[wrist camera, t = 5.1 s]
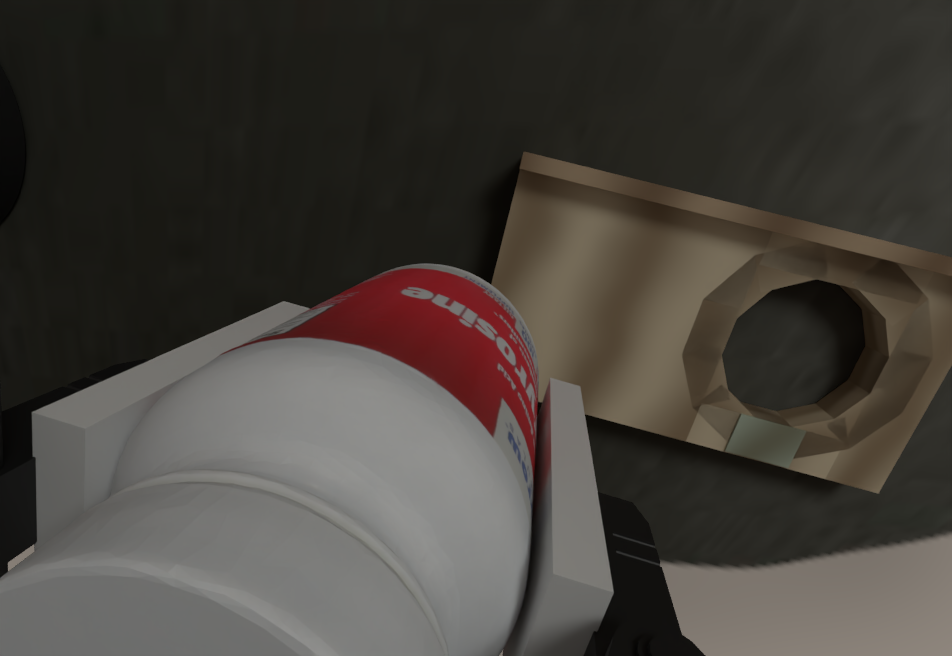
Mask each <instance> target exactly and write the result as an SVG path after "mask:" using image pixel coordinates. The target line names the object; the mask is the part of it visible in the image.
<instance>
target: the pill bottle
mask: <svg viewBox="0 0 952 656" xmlns="http://www.w3.org/2000/svg"><path fill="white" fill-rule="evenodd" d="M538 389H539V369H538V359H537V354H536V349H535V345H534V342H533V339H532V336H531V334H530V332H529V330H528V328H527V326H526V324H525V322H524V320H523V319H522V317H521V316H520V314H519V313H518V311H517V310H516V308H515V307H514V306H513V305H512V303H511V302H510V301H509V300H508V299H507V298H506V297H505V296H504V295H503V294H502V293H501V292H500V291H499V290H497V289H496V288H495V287H493V286H492V285H491V284H489V283H488V282H486V281H484V280H483V279H481V278H479V277H478V276H476V275H474V274H472V273H470V272H467V271H464V270H461V269H458V268H455V267H450V266H446V265H439V264H413V265H408V266H402V267H398V268H395V269H392V270H389V271H386V272H383V273H381V274H379V275H377V276H375V277H373V278H370V279H368V280H366V281H364V282H362V283H360V284H358V285H356V286H354V287H352V288H350V289H348V290H346V291H345V292H343V293H341V294H339V295H337V296H335V297H333V298H331V299H329V300H327V301H325V302H323V303H321V304H319V305H317V306H315V307H313V308H311V309H309V310H307V311H305V312H303V313H301V314H299V315H298V316H296V317H294V318H292V319H290V320H288V321H286V322H284V323H282V324H280V325H278V326H276V327H274V328H272V329H271V330H269V331H267V332H264V333H262V334H261V335H259V336H257V337H255V338H253V339H251V340H249V341H248V342H246V343H243V344H241V345H239V346H238V347H235V348H232V349H230V350H228V351H226V352H224V353H222V354H221V355H219V356H218V357H216V358H215V359H213V360H212V361H210V362H209V363H207V364H205V365H204V366H202V367H201V368H199V369H197V370H196V371H194V372H192V373H191V374H189V375H187V376H186V377H184V378H183V379H182V380H180V381H179V382H178V383H176V384H175V385H174V386H173V387H172V388H170V389H169V390H168V391H167V392H166V393H165V394H164V395H163V396H162V397H160V398H159V399H158V400H157V402H156V403H155V404H154V405H153V406H152V407H151V408H150V409H149V410H148V412H147V413H146V414H145V415H144V417H143V418H142V420H141V421H140V422H139V424H138V425H137V427H136V428H135V429H134V431H133V432H132V434H131V436H130V437H129V439H128V441H127V444H126V446H125V448H124V451H123V453H122V455H121V458H120V460H119V463H118V466H117V469H116V472H115V476H114V479H113V483H112V489H111V495H110V497H109V498H108V499H107V500H105V501H103V502H101V503H99V504H97V505H96V506H94V507H92V508H90V509H89V510H87V511H86V512H85V513H83V514H82V515H80V516H79V517H78V518H77V519H75V520H74V521H73V522H72V523H71V524H70V525H69V526H68V527H66V528H65V529H63V530H62V531H61V532H59V533H58V534H57V535H55V536H54V537H53V538H51V539H50V540H49V541H47V542H46V543H45V544H44V545H42V546H41V547H40V548H38V549H37V550H36V551H35V552H34V553H32V554H31V555H29V556H28V557H27V558H25V559H24V560H23V561H21V562H20V563H19V564H18V565H16V566H15V567H14V568H12V569H11V570H10V571H8V572H7V573H6V574H4V575H3V576H2V577H0V656H499V655H500V653H501V652H502V650H503V649H504V647H505V645H506V644H507V642H508V640H509V638H510V636H511V633H512V631H513V629H514V627H515V624H516V622H517V619H518V616H519V613H520V611H521V607H522V603H523V599H524V595H525V590H526V585H527V577H528V569H529V561H530V548H531V532H532V509H533V489H534V474H535V457H536V443H537V411H538Z"/></svg>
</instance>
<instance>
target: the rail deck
mask: <svg viewBox="0 0 952 656" xmlns="http://www.w3.org/2000/svg"><path fill="white" fill-rule="evenodd" d="M519 169H520V172H519V176H518V180H517V184H516V188H515V192H514V196H513V200H512V204H511V208H510V212H509V216H508V220H507V224H506V228H505V232H504V236H503V240H502V244H501V248H500V252H499V255H498V259H497V263H496V267H495V271H494V275H493V279H492V283H491V285H492V286H493V287H495V288H496V289H497V290H499V291H500V292H501V293H502V294H503V295H504V296H505V297H506V298H507V299H508V300H509V301H510V302H511V303H512V305H513V306H514V307H515V308H516V310H517V311H518V313H519V314H520V316H521V317H522V319H523V320H524V322H525V324H526V326H527V328H528V330H529V332H530V334H531V336H532V339H533V342H534V345H535V349H536V354H537V359H538V369H539V389H538V402H543V399H544V395H545V392H546V389H547V386H548V383H549V380H550V378H553V379H557V380H560V381H564V382H567V383H571V384H574V385H578V386H580V388H581V394H582V400H583V406H584V413H585V414H586V415H590V416H593V417H597V418H601V419H605V420H608V421H612V422H616V423H619V424H623V425H627V426H631V427H634V428H638V429H642V430H645V431H649V432H653V433H656V434H660V435H664V436H668V437H671V438H675V439H679V440H682V441H686V442H690V443H693V444H697V445H701V446H705V447H708V448H712V449H716V450H719V451H723V452H727V453H730V454H734V455H738V456H742V457H745V458H749V459H753V460H756V461H760V462H764V463H767V464H771V465H775V466H779V467H782V468H786V469H790V470H793V471H797V472H801V473H804V474H808V475H812V476H816V477H819V478H823V479H827V480H830V481H834V482H838V483H841V484H845V485H849V486H853V487H856V488H860V489H864V490H867V491H871V492H875V493H879V491H880V490H881V488H882V486H883V484H884V483H885V481H886V479H887V477H888V476H889V474H890V472H891V470H892V469H893V467H894V465H895V463H896V462H897V460H898V458H899V456H900V455H901V453H902V451H903V449H904V448H905V446H906V444H907V442H908V441H909V439H910V437H911V435H912V434H913V432H914V430H915V428H916V427H917V425H918V423H919V421H920V420H921V418H922V416H923V414H924V413H925V411H926V409H927V407H928V406H929V404H930V402H931V400H932V399H933V397H934V395H935V393H936V392H937V390H938V388H939V386H940V385H941V383H942V381H943V379H944V378H945V376H946V374H947V372H948V371H949V369H950V367H951V365H952V257H948V256H944V255H940V254H935V253H931V252H927V251H923V250H919V249H915V248H911V247H907V246H903V245H899V244H895V243H891V242H887V241H883V240H879V239H875V238H871V237H867V236H863V235H859V234H855V233H851V232H847V231H843V230H839V229H834V228H830V227H826V226H822V225H818V224H814V223H810V222H806V221H802V220H798V219H794V218H790V217H786V216H782V215H778V214H774V213H770V212H766V211H762V210H758V209H754V208H750V207H746V206H742V205H738V204H733V203H729V202H725V201H721V200H717V199H713V198H709V197H705V196H701V195H697V194H693V193H689V192H685V191H681V190H677V189H673V188H669V187H665V186H661V185H657V184H653V183H649V182H645V181H641V180H636V179H632V178H628V177H624V176H620V175H616V174H612V173H608V172H604V171H600V170H596V169H592V168H588V167H584V166H580V165H576V164H572V163H568V162H564V161H560V160H556V159H552V158H548V157H544V156H540V155H535V154H531V153H527V152H524V153H523V156H522V160H521V164H520V168H519ZM815 279H818V280H822V281H826V282H830V283H834V284H838V285H840V286H841V287H842V289H843V290H844V291H845V292H846V293H847V294H848V295H849V296H850V297H851V298H852V299H853V301H854V302H855V303H856V304H857V305H858V306H859V307H860V308H861V309H862V317H863V327H864V336H865V347H864V349H863V351H862V353H861V355H860V357H859V359H858V361H857V363H856V365H855V367H854V369H853V371H852V373H851V375H850V377H849V379H848V380H847V381H846V382H844V383H843V384H842V385H840V386H839V387H837V388H836V389H835V390H833V391H832V392H830V393H829V394H828V395H826V396H825V397H823V398H822V399H821V400H819V401H818V402H817V403H815V404H810V405H805V406H800V407H795V408H790V409H785V410H780V411H773V410H770V409H766V408H762V407H758V406H755V405H751V404H747V403H743V402H740V401H739V400H738V399H737V398H736V397H735V396H734V395H733V394H732V393H731V392H730V391H729V390H728V388H727V382H726V377H725V371H724V366H723V360H722V353H723V351H724V348H725V346H726V343H727V341H728V339H729V336H730V334H731V331H732V329H733V327H734V324H735V322H736V319H737V318H738V317H739V316H740V315H742V314H743V313H744V312H745V311H746V310H748V309H749V308H750V307H751V306H753V305H754V304H755V303H756V302H757V301H759V300H760V299H761V298H762V297H764V296H765V295H766V294H767V293H768V292H770V291H771V290H774V289H778V288H782V287H786V286H790V285H794V284H799V283H803V282H807V281H811V280H815Z"/></svg>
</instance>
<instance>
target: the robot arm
mask: <svg viewBox="0 0 952 656" xmlns="http://www.w3.org/2000/svg"><path fill="white" fill-rule="evenodd" d="M24 168H25V138H24V130H23V125H22V120H21V115H20V112H19V108H18V105H17V102H16V98H15V96H14V93H13V90H12V88H11V86H10V83H9V81H8V79H7V77H6V75H5V73H4V71H3V69H2V67H1V65H0V222H1V221H2V220H3V219H4V218H5V217H6V215H7V214H8V213H9V211H10V210H11V208H12V207H13V205H14V203H15V201H16V199H17V196H18V194H19V191H20V188H21V184H22V180H23V175H24ZM307 310H309V308H306V307H302V306H299V305H295V304H292V303H288V302H285V301H283V302H281V303H279V304H277V305H274V306H272V307H270V308H268V309H265V310H263V311H261V312H258V313H256V314H254V315H252V316H249V317H247V318H245V319H243V320H240V321H238V322H236V323H233V324H231V325H229V326H227V327H224V328H222V329H220V330H218V331H215V332H213V333H211V334H208V335H206V336H204V337H202V338H199V339H197V340H195V341H193V342H190V343H188V344H186V345H183V346H181V347H179V348H177V349H174V350H172V351H170V352H168V353H165V354H163V355H161V356H158V357H156V358H154V359H152V360H147V359H143V360H138V361H133V362H127V363H122V364H117V365H113V366H111V367H109V368H106V369H104V370H101V371H99V372H97V373H94V374H92V375H90V376H89V378H85V377H84V378H82V379H80V380H77V381H75V382H72V383H70V384H68V386H67V387H60V388H58V389H56V390H53V391H51V392H48V393H46V394H43V395H41V396H39V397H36V398H34V399H31V400H29V401H27V402H24V403H22V404H19V405H17V406H15V407H12V408H10V409H7V410H5V411H3V412H2V410H1V385H0V577H2V576H3V575H4V574H6V573H7V572H8V562H9V561H10V560H12V559H13V558H15V557H16V556H18V555H19V554H20V553H22V552H23V551H25V550H26V549H27V548H29V547H30V546H32V545H33V544H34V546H35V547H34V548H35V551H36V550H37V549H38V548H40V547H41V546H42V545H44V544H45V543H46V542H47V541H49V540H50V539H51V538H53V537H54V536H55V535H57V534H58V533H59V532H61V531H62V530H63V529H65V528H66V527H68V526H69V525H70V524H71V523H72V522H73V521H74V520H75V519H77V518H78V517H79V516H80V515H82V514H83V513H85V512H86V511H87V510H89V509H90V508H92V507H94V506H96V505H97V504H99V503H101V502H103V501H105V500H107V499H108V498H109V497H110V495H111V489H112V483H113V479H114V476H115V472H116V469H117V466H118V463H119V460H120V458H121V455H122V453H123V451H124V448H125V446H126V444H127V441H128V439H129V437H130V436H131V434H132V432H133V431H134V429H135V428H136V427H137V425H138V424H139V422H140V421H141V420H142V418H143V417H144V415H145V414H146V413H147V412H148V410H149V409H150V408H151V407H152V406H153V405H154V404H155V403H156V402H157V400H158V399H159V398H160V397H162V396H163V395H164V394H165V393H166V392H167V391H168V390H169V389H170V388H172V387H173V386H174V385H175V384H176V383H178V382H179V381H180V380H182V379H183V378H184V377H186V376H187V375H189V374H191V373H192V372H194V371H196V370H197V369H199V368H201V367H202V366H204V365H205V364H207V363H209V362H210V361H212V360H213V359H215V358H216V357H218V356H219V355H221V354H222V353H224V352H226V351H228V350H230V349H232V348H235V347H238V346H239V345H241V344H243V343H246V342H248V341H249V340H251V339H253V338H255V337H257V336H259V335H261V334H262V333H264V332H267V331H269V330H271V329H272V328H274V327H276V326H278V325H280V324H282V323H284V322H286V321H288V320H290V319H292V318H294V317H296V316H298V315H299V314H301V313H303V312H305V311H307ZM654 546H655V543H654V540H653V537H652V533H651V530H650V527H649V523H648V522H647V521H646V519H645V518H644V517H643V516H642V514H641V513H640V512H639V510H638V509H637V508H636V506H635V505H634V504H633V503H632V502H629V501H626V500H622V499H619V498H616V497H612V496H609V495H606V494H602V493H599V492H597V486H596V480H595V474H594V468H593V462H592V456H591V449H590V443H589V437H588V431H587V425H586V419H585V413H584V406H583V400H582V394H581V388H580V386H578V385H574V384H571V383H567V382H564V381H560V380H557V379H553V378H550V380H549V383H548V386H547V389H546V392H545V395H544V399H543V402H542V405H541V408H540V411H539V414H538V417H537V443H536V457H535V474H534V489H533V509H532V532H531V548H530V561H529V569H528V577H527V585H526V590H525V595H524V599H523V603H522V607H521V611H520V613H519V616H518V619H517V622H516V624H515V627H514V629H513V631H512V633H511V636H510V638H509V640H508V642H507V644H506V645H505V647H504V649H503V656H705V655H704V654H703V653H702V652H701V651H700V650H699V649H698V648H697V647H696V646H695V644H693V642H692V641H690V640H689V639H687V638H686V637H684V636H683V635H682V633H681V630H680V627H679V623H678V620H677V617H676V614H675V610H674V607H673V603H672V600H671V597H670V594H669V590H668V587H667V584H666V580H665V577H664V573H663V570H662V567H660V560H659V557H658V553H657V550H656V549H655V548H654Z"/></svg>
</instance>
